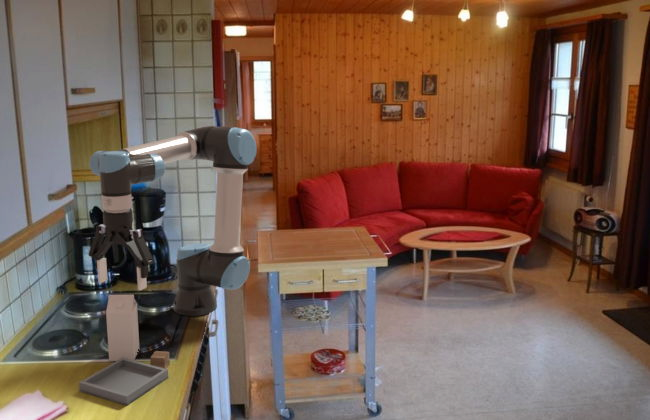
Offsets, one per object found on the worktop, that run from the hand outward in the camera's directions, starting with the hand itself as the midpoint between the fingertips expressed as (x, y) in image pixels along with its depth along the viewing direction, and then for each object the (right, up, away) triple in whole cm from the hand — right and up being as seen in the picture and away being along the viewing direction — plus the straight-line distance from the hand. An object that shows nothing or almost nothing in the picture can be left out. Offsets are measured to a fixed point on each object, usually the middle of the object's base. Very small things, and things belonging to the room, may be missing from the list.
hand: (122, 285), depth 166 cm
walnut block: (+9, -24, +6) cm, 26 cm away
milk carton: (-3, -22, +12) cm, 26 cm away
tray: (+2, -26, -4) cm, 26 cm away
